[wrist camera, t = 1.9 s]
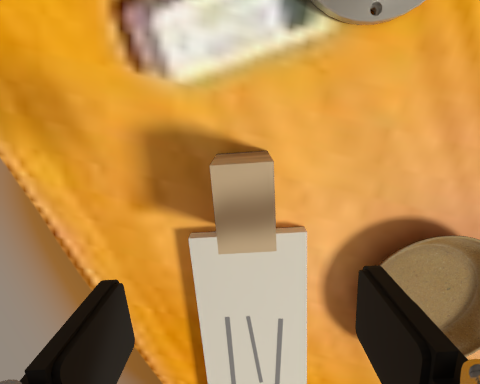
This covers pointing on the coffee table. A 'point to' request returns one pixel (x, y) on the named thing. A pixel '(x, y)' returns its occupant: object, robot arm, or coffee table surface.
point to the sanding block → (244, 202)
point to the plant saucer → (443, 284)
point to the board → (253, 310)
